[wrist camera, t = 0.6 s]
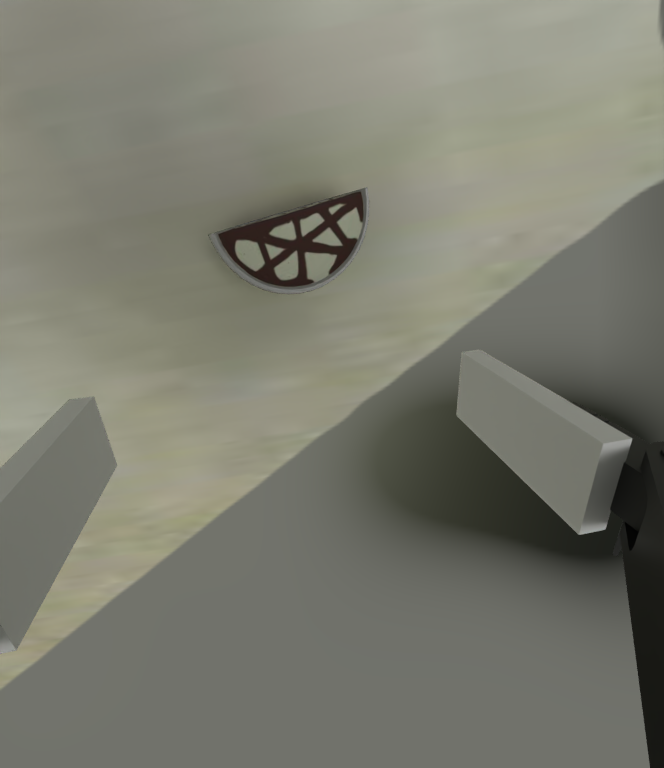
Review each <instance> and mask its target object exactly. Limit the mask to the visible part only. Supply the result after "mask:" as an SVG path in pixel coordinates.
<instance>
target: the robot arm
mask: <svg viewBox="0 0 664 768" xmlns="http://www.w3.org/2000/svg"><path fill="white" fill-rule="evenodd" d="M459 380H460V381H459V393H458V403H457V416H458V417H459V418H460V419H461V420H462V421H463V422H464V423H465V424H466V425H467V426H468V427H469V428H470V429H471V430H472V431H473V432H474V433H475V434H476V435H477V436H478V437H479V438H480V439H481V440H482V441H483V442H484V443H485V444H487V446H488V447H489V448H490V449H491V450H492V451H494V452H495V453H496V454H497V455H498V456H499V457H500V458H501V459H502V460H503V461H504V462H505V463H506V464H507V465H508V466H509V467H510V468H511V469H512V470H513V471H514V472H515V473H516V474H517V475H518V476H519V477H520V478H521V479H522V480H523V481H524V482H525V483H526V484H527V485H528V486H529V487H530V488H531V489H532V490H534V491H535V492H536V493H537V494H538V495H539V496H540V497H541V498H542V499H543V500H544V501H545V502H546V503H547V504H548V505H549V506H550V507H551V508H552V509H553V510H554V511H555V512H556V513H557V514H558V515H559V516H560V517H561V518H562V519H563V520H564V521H565V522H566V523H567V524H568V525H570V526H571V527H572V528H573V529H574V530H575V531H576V532H577V533H578V534H579V535H580V534H586V533H590V532H595V531H600V530H605V528H606V525H607V522H608V518H609V515H610V512H611V510H612V511H613V512H614V513H615V514H616V515H618V516H619V517H620V518H622V519H623V522H622V526H621V529H620V532H619V535H618V538H617V541H616V544H615V548H614V551H613V555H615V556H618V554H619V551H620V550H622V554H623V562H624V570H625V577H626V585H627V593H628V600H629V608H630V616H631V624H632V631H633V639H634V647H635V654H636V661H637V669H638V676H639V685H640V693H641V701H642V709H643V716H644V723H645V732H646V739H647V747H648V754H649V762H650V768H664V442H654V443H651V444H649V443H647V442H646V441H644V440H642V439H641V438H639V437H637V436H635V435H633V434H632V433H630V432H628V431H626V430H625V429H623V428H621V427H620V426H618V425H616V424H614V423H612V422H609V420H607V419H606V418H604V417H602V416H598V415H597V413H595V412H593V411H591V410H589V409H588V408H586V407H584V406H583V405H579V404H577V403H574V402H571V401H568V400H566V399H564V398H562V397H560V396H559V395H557V394H555V393H554V392H552V391H550V390H548V389H547V388H545V387H543V386H542V385H540V384H538V383H536V382H535V381H533V380H531V379H530V378H528V377H526V376H524V375H523V374H521V373H519V372H518V371H515V370H514V369H512V368H511V367H509V366H507V365H505V364H504V363H502V362H500V361H499V360H497V359H495V358H494V357H492V356H490V355H488V354H487V353H485V352H483V351H482V350H474V351H466V352H462V355H461V367H460V379H459ZM116 466H117V463H116V460H115V457H114V454H113V451H112V448H111V445H110V443H109V440H108V437H107V434H106V431H105V428H104V425H103V422H102V419H101V416H100V413H99V410H98V407H97V404H96V401H95V398H94V397H86V398H78V399H70V400H68V401H67V402H66V403H65V404H64V405H63V406H62V407H61V408H60V409H59V410H58V411H57V412H56V413H55V414H54V415H53V416H52V417H51V418H50V419H49V420H48V421H47V422H46V423H45V424H44V425H43V426H42V427H41V428H40V429H39V430H38V431H37V432H36V433H35V434H34V435H33V436H32V437H31V438H30V439H29V440H28V441H27V442H26V443H25V444H24V445H23V446H22V447H21V448H20V449H19V450H18V451H17V452H16V453H15V454H14V455H13V456H12V457H11V458H10V459H9V460H8V461H7V462H6V463H5V464H4V465H3V466H2V467H1V468H0V654H1V653H6V652H11V651H16V650H17V648H18V646H19V645H20V643H21V641H22V639H23V637H24V635H25V634H26V632H27V630H28V628H29V626H30V624H31V623H32V621H33V619H34V617H35V615H36V613H37V612H38V610H39V608H40V606H41V604H42V602H43V601H44V599H45V597H46V595H47V593H48V591H49V589H50V588H51V586H52V584H53V582H54V580H55V578H56V577H57V575H58V573H59V571H60V569H61V567H62V566H63V564H64V562H65V560H66V558H67V556H68V555H69V553H70V551H71V549H72V547H73V545H74V544H75V542H76V540H77V538H78V536H79V534H80V533H81V531H82V529H83V527H84V525H85V523H86V522H87V520H88V518H89V516H90V514H91V512H92V510H93V509H94V507H95V505H96V503H97V501H98V499H99V498H100V496H101V494H102V492H103V490H104V488H105V487H106V485H107V483H108V481H109V479H110V477H111V476H112V474H113V472H114V470H115V468H116Z"/></svg>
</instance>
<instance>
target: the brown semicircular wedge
mask: <svg viewBox="0 0 664 768" xmlns="http://www.w3.org/2000/svg"><path fill="white" fill-rule="evenodd" d="M368 217H369V197H368V189H367V187H366V188H363V189H360V190H356V191H353V192H349V193H346V194H342V195H339V196H335V197H332V198H328V199H325V200H322V201H318V202H315V203H312V204H308V205H305V206H302V207H298V208H295V209H292V210H288V211H285V212H282V213H278V214H275V215H271V216H268V217H265V218H261V219H258V220H255V221H251V222H248V223H245V224H241V225H238V226H235V227H231V228H228V229H225V230H222V231H219V232H216V233H212V234H209V235H208V236H209V238H210V240H211V242H212V244H213V246H214V248H215V249H216V251H217V253H218V254H219V256H220V257H221V259H222V260H223V261H224V262H225V263H226V264H227V266H228V267H229V268H230V269H231V270H232V271H233V272H235V273H236V274H237V275H238V276H239V277H240V278H242V279H243V280H245V281H247V282H248V283H250V284H252V285H254V286H256V287H258V288H261V289H263V290H266V291H270V292H274V293H281V294H298V293H304V292H308V291H312V290H314V289H317V288H319V287H322V286H324V285H325V284H327V283H329V282H330V281H332V280H334V279H335V278H336V277H337V276H338V275H340V274H341V273H342V272H343V271H344V270H345V269H346V268H347V267H348V265H349V264H350V263H351V262H352V260H353V259H354V257H355V256H356V254H357V253H358V251H359V248H360V246H361V244H362V242H363V239H364V236H365V233H366V229H367V224H368Z"/></svg>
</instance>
